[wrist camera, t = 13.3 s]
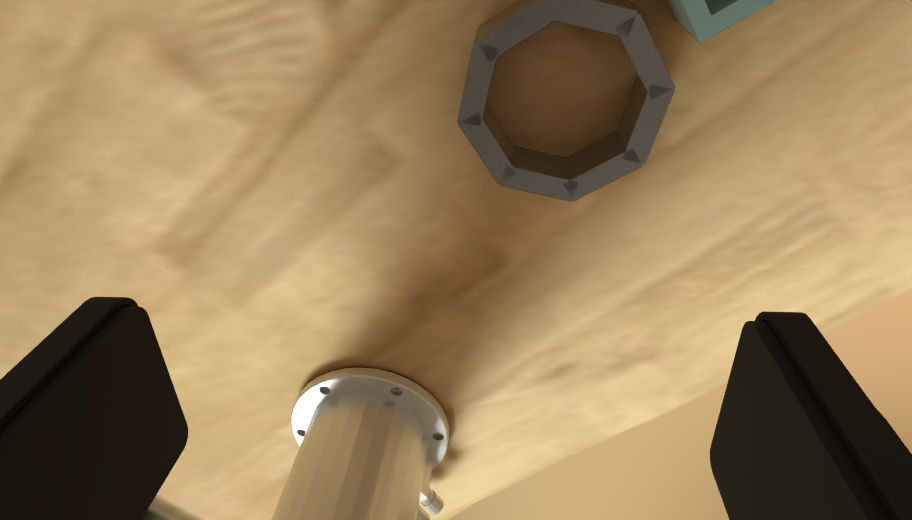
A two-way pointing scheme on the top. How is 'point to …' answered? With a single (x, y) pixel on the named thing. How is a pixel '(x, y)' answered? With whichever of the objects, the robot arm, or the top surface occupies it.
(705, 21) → the bin
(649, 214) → the top surface
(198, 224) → the top surface
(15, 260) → the top surface
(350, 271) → the top surface
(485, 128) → the socket collar
